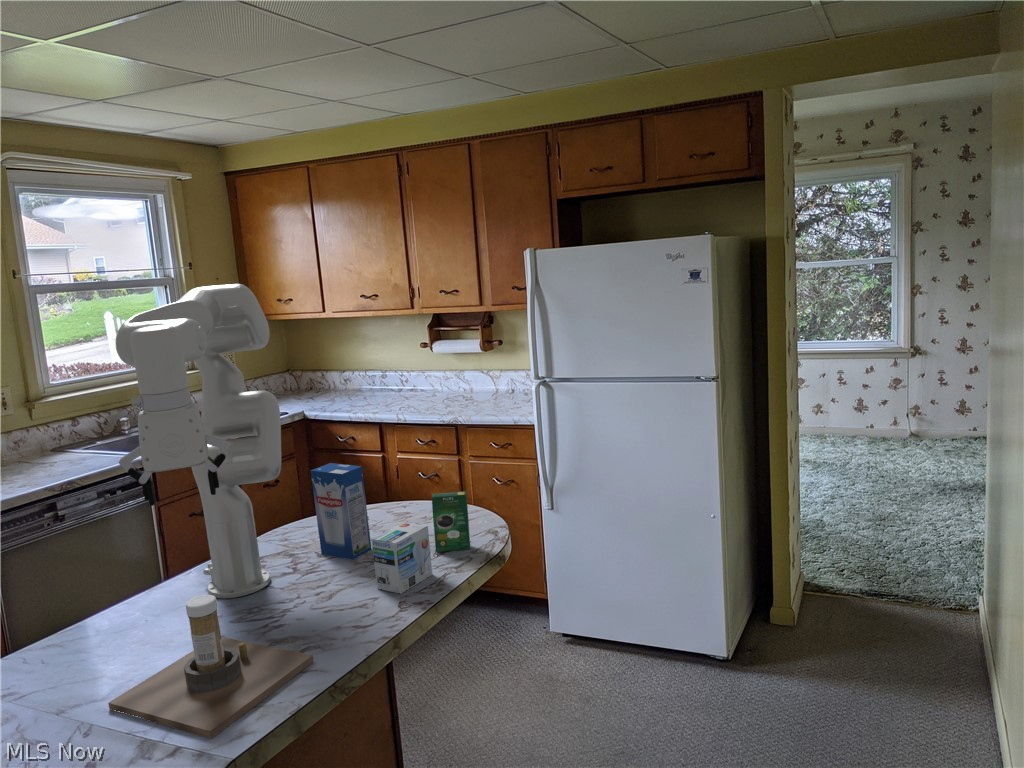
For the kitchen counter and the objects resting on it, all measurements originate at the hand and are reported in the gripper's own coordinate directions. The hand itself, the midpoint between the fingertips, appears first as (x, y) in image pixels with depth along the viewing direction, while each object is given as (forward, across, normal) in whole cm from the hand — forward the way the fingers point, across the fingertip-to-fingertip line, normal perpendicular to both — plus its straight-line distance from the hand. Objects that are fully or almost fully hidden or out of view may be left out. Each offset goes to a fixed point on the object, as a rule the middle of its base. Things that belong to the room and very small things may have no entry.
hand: (183, 497), depth 133 cm
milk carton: (+30, +29, +34) cm, 54 cm away
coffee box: (+30, +51, +22) cm, 63 cm away
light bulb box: (+29, +38, +10) cm, 49 cm away
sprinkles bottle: (+27, +1, -14) cm, 30 cm away
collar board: (+28, +1, -14) cm, 31 cm away
